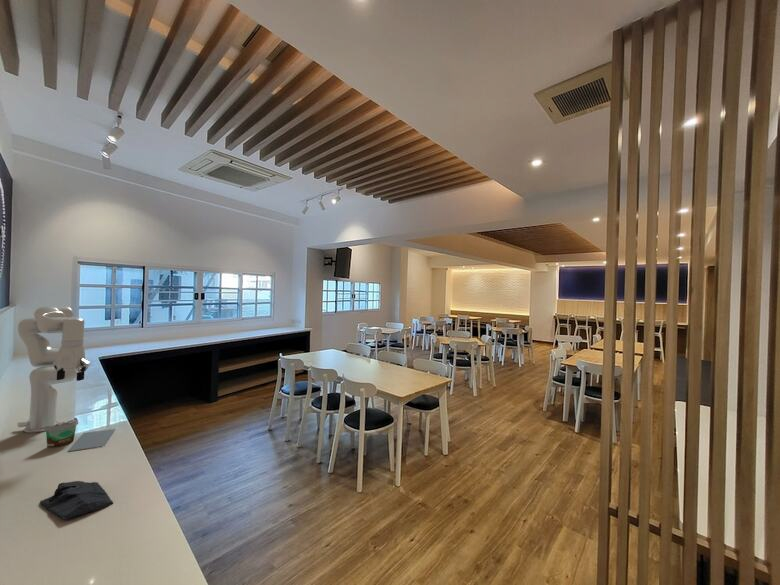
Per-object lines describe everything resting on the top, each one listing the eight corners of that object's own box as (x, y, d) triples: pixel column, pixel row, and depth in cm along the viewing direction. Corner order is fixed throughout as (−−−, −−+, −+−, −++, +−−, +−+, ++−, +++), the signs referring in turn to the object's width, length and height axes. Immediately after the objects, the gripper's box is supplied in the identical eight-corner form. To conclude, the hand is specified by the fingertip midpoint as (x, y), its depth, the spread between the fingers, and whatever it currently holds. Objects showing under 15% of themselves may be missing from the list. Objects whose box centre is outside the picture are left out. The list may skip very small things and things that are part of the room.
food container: (53, 450, 145) (55, 428, 146) (43, 448, 147) (44, 426, 147) (84, 439, 157) (85, 418, 158) (74, 437, 159) (75, 417, 159)
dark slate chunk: (53, 530, 98) (54, 514, 98) (38, 502, 110) (39, 488, 111) (116, 505, 110) (117, 491, 111) (97, 482, 123) (97, 470, 123)
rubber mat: (67, 452, 144) (67, 451, 144) (83, 433, 163) (83, 432, 164) (104, 446, 151) (104, 445, 151) (115, 429, 170) (115, 428, 170)
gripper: (46, 344, 153) (44, 381, 152) (82, 345, 152) (80, 382, 152) (63, 342, 160) (61, 377, 160) (97, 343, 160) (95, 378, 159)
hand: (70, 379), depth 156 cm, fingers open, 9 cm apart
